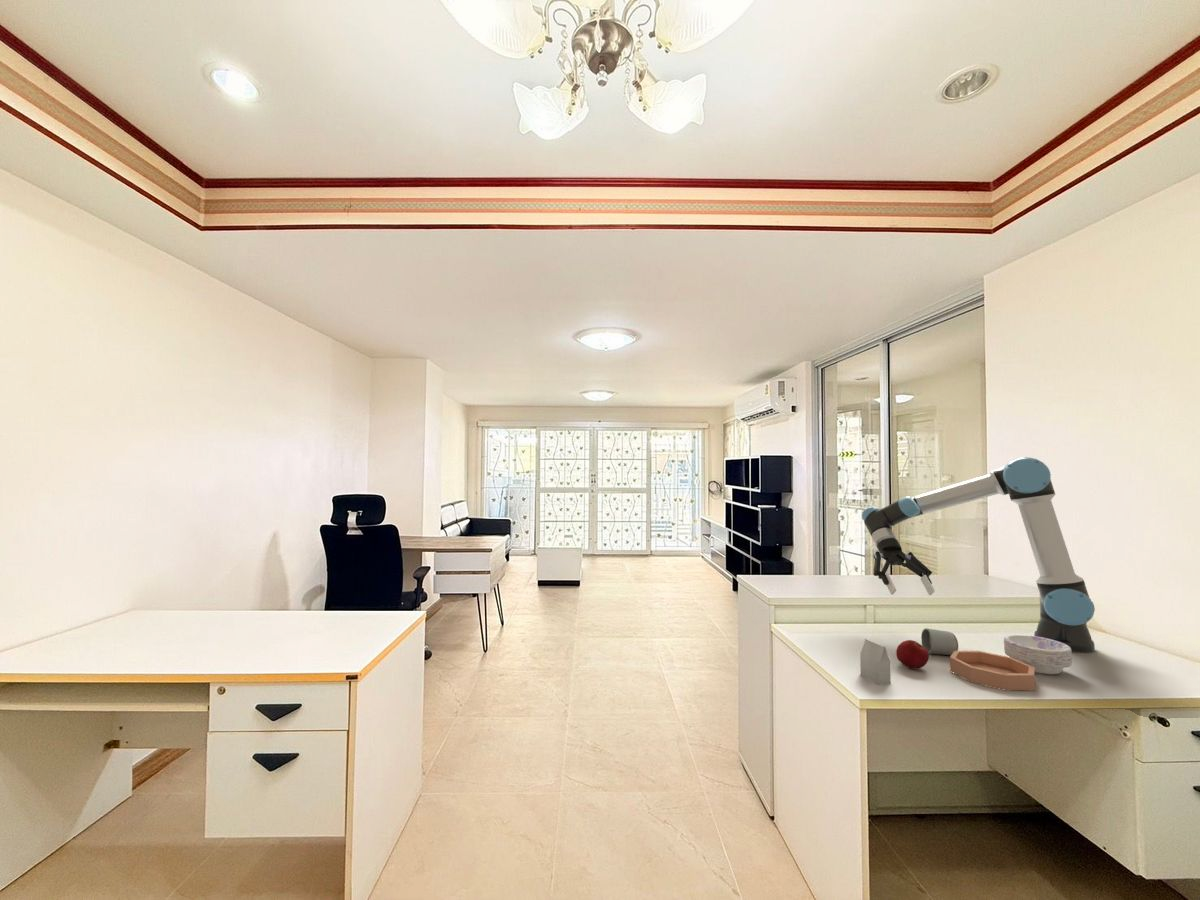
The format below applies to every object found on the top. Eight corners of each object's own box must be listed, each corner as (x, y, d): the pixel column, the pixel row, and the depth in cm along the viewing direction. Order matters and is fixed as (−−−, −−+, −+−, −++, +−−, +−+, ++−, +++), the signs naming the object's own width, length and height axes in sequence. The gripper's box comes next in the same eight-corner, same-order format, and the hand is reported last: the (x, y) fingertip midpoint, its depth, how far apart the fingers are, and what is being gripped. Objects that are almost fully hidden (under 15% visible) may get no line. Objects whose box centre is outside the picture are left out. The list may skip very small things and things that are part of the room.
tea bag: (879, 684, 134) (879, 647, 135) (860, 675, 141) (860, 639, 141) (890, 683, 135) (890, 646, 136) (871, 673, 142) (870, 638, 142)
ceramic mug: (960, 659, 154) (959, 633, 155) (931, 656, 156) (931, 632, 156) (942, 648, 165) (942, 624, 165) (916, 646, 166) (915, 622, 167)
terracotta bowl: (996, 664, 150) (996, 650, 150) (1053, 690, 132) (1053, 675, 132) (937, 664, 150) (936, 650, 150) (986, 690, 131) (986, 675, 132)
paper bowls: (993, 663, 151) (992, 636, 152) (1022, 656, 157) (1021, 631, 158) (1054, 682, 137) (1054, 653, 138) (1083, 674, 143) (1083, 646, 144)
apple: (912, 674, 142) (912, 646, 142) (890, 663, 149) (890, 636, 150) (935, 672, 143) (934, 644, 143) (912, 662, 151) (911, 635, 151)
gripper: (914, 549, 190) (942, 599, 175) (850, 548, 190) (873, 597, 174) (923, 537, 185) (953, 587, 169) (858, 536, 184) (882, 586, 169)
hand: (913, 592), depth 172 cm, fingers open, 13 cm apart
